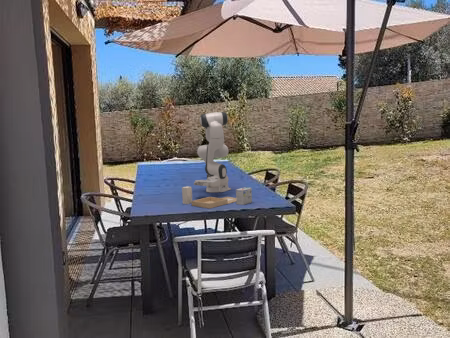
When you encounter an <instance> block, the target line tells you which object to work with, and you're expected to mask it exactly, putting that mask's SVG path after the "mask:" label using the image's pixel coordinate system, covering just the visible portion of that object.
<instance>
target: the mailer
mask: <svg viewBox="0 0 450 338" xmlns="http://www.w3.org/2000/svg"><path fill="white" fill-rule="evenodd" d="M234 203H236V197H232V196H225V197H224V196H223V197H214V196H208V197H203V198H200V199H199V198H198V199H194V200H192V203H191V207H198V208H202V209H208V210H210V209H213V208H217V207H222V206H225V205H228V204H234Z"/></svg>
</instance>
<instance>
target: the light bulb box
mask: <svg viewBox="0 0 450 338" xmlns="http://www.w3.org/2000/svg"><path fill="white" fill-rule="evenodd" d="M252 191H253V190H252V187H247V186H246V187H241V188H237V189H235V198H236V202H235V204H236V205H241V206H244V205H247V204H251V203H253V193H252Z"/></svg>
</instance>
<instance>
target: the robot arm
mask: <svg viewBox="0 0 450 338" xmlns="http://www.w3.org/2000/svg"><path fill="white" fill-rule="evenodd" d="M228 120H229V117H228V114H227V113H226V112H225V111H220V112H219V111H216V112H215V111H214V112H208V113H203V114H200V117H199V124H200V126H201V127H202V128H204V130H205V139H206V141H207V142H208V144H204V145H199V146H198V148H197V151H196V152H197V156H198V158H200V159H202V160H203V162H204V163H205V166H204V171H205V173H206V179H195V180H194V182H193V185H194V186H198V187H199V186H201V187H206V188H205V192H206V193H224V192H228V191H231V190H232V187H229V176H228V174H227V173H228V172H227V167H226V165H225V164H223V163H218V162H216V161H214V160H215V158H217V159H218V158H219V159H221V158H224V157H227V156H228V155H229V147H228V146H227V145H226V144H225V135H224V133H225V132H224V128H223V126H226V125H227V124H228Z"/></svg>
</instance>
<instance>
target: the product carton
mask: <svg viewBox="0 0 450 338" xmlns="http://www.w3.org/2000/svg"><path fill="white" fill-rule="evenodd" d="M181 195H182V204H183V205H190V204H191V205H192V201H193V189H192V186H188V185H187V186H183V187H182V186H181Z"/></svg>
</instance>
